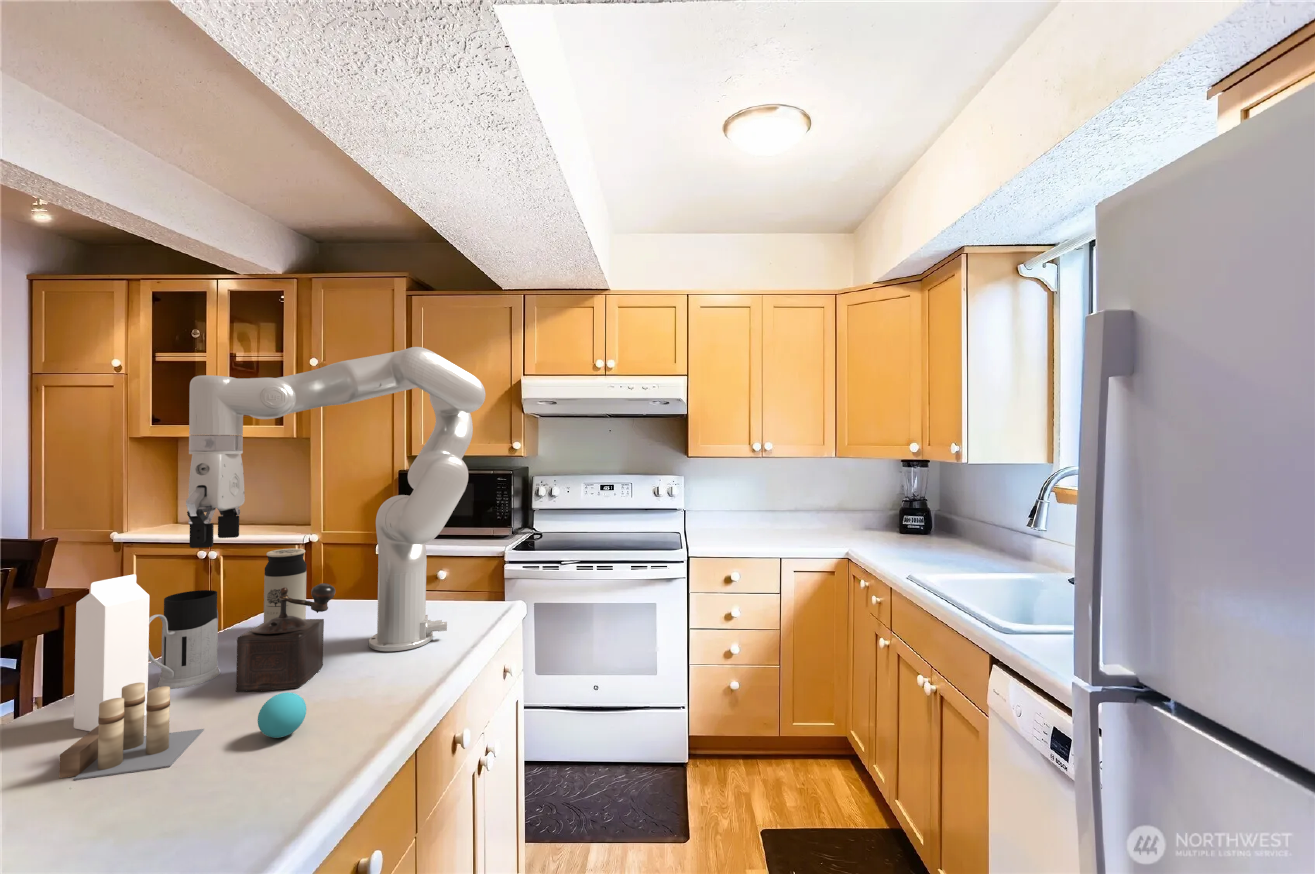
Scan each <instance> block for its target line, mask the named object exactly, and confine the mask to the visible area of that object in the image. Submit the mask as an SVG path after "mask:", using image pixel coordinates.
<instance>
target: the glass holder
mask: <svg viewBox="0 0 1315 874" xmlns="http://www.w3.org/2000/svg"><path fill="white" fill-rule="evenodd" d="M156 618H159V619H160V620H161V622H162V627H161V662H159V661H158V660H156V659H155V657H154V656H153V655H152V653H151V651H150V647H149V648H148V662H151V663H152V664H153V665H155V666H156V667H159V668H160V669H161V671H160V673H161V675H160V678H159V680H158V682H157V686H158V687H163V686H168V687H170V690H172V689H181V688H189V687H193V686H197V685H200V684H204V683H207V682H210V681H211V680H213V679H215V678H217V677H218V676H219V675H220V674H221V671H220V668H219V666H218V644H219V643H218V638H219V636H218V633H219V632H218V629H219V612H218V591H216V590H212V589H203V590H191V591H185V592H178V593H174V594H170V595H168V596H165V597H164V598H163V614H154V615H151V616H149V625H150V624H151V622H152V621H153V620H155V619H156Z"/></svg>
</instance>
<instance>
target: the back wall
mask: <svg viewBox="0 0 1315 874" xmlns="http://www.w3.org/2000/svg"><path fill="white" fill-rule="evenodd" d="M98 736H99V725H98V726H97V727H96V728H94V729H93V730H92V731H88V733H87V734H85V735H84V736H83V737H81V738H80V739H79V740H77V741H75V743H73V744H72V745H71V746H70V747H68V748H66V750H64V751H63V752H61V753H60V754H59V765H58V766H59V772H58V773H59V775H58V779H65V778H71V777H76V776H77V775H79V774H80V773H81V772H82V771H83V770H85V769H86V768H87V767H88V766H89V765H90V764H92V763H93V762H94V761H95V760H96V759H98Z"/></svg>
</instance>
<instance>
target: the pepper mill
mask: <svg viewBox="0 0 1315 874" xmlns="http://www.w3.org/2000/svg"><path fill="white" fill-rule="evenodd" d="M280 593H281V595H280V596H279V600H281V611H280V615H279V617H276V618H273V619H271V620H268V621H266V622H264V621H263V622H262V623H260V624H259V625H257V626H255V627H253V628H252V629H250V630H248V631H246V632H245V633H243V634H240V635H239V636H238V637H237V639H236V677H235V678H236V679H235V680H236V683H235V684H236V685H235V687H236V688H235V692H236V693H239V692H241V693H242V692H243V693H246V692H247V693H248V692H268V691H269V692H270V691H276V690H277V691H278V690H289V689H296V688H297V689H298V688H300V687H301V686H303V685H305V684H307V683H308V682H309V681H310V680H311V679H313V677H314V675H315V674H316V673H317V674H318V673H319V672H320V671H321V670H322V668H323V666H324V633H325V632H324V631H325V630H324V629H325V628H324V627H325V626H324V625H325V621H324V618H308V619H307V618H306V619H301V618H299V617H295V616H288V615H287V613H286V603H287V601H288V602H290V603H293V604H299V605H306V607H307V606H308V607H310V610H312V611H314V612H316V613H317V614H318V613H321V612H322V613H323V612H326V611H328V609H329V606H328V603H329V602H330V601H331V600H332V599H333V598H334V596H335V594H336V587H334V586H333V585H331V584H330V583H325V582H324V583H319V584H316V585H315V586H313V587H312V589H311V591H310V593H311V597H312V598H313V601H311V600H307V599H306V600H299V599H294V598H290V597H288V594H287V593H288V589H287V588H286V587H283V588H281V590H280ZM319 670H320V671H319ZM317 674H316V675H317ZM316 675H315V676H316ZM308 680H309V681H308ZM307 681H308V682H307ZM306 682H307V683H306Z"/></svg>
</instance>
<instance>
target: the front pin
mask: <svg viewBox="0 0 1315 874" xmlns="http://www.w3.org/2000/svg"><path fill="white" fill-rule="evenodd" d="M170 706H171V689H170V687H168V686H163V687H159V686H158V687H154V688H151V689H150V690H148V692H147V704H146V711H147V715H146V720H145V722H146V727H145V730H146V731H145V736H146V754H148V755H152V754H157V753H161V752H163V751H165V750H167V749H168V748H169V733H170V714H171V713H170V708H171V707H170Z"/></svg>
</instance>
